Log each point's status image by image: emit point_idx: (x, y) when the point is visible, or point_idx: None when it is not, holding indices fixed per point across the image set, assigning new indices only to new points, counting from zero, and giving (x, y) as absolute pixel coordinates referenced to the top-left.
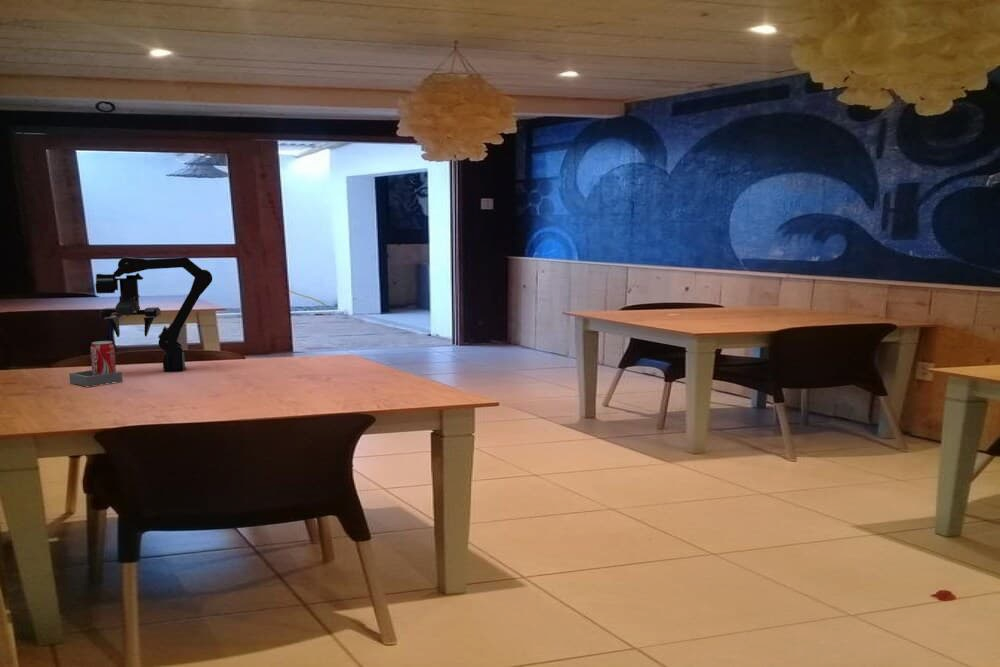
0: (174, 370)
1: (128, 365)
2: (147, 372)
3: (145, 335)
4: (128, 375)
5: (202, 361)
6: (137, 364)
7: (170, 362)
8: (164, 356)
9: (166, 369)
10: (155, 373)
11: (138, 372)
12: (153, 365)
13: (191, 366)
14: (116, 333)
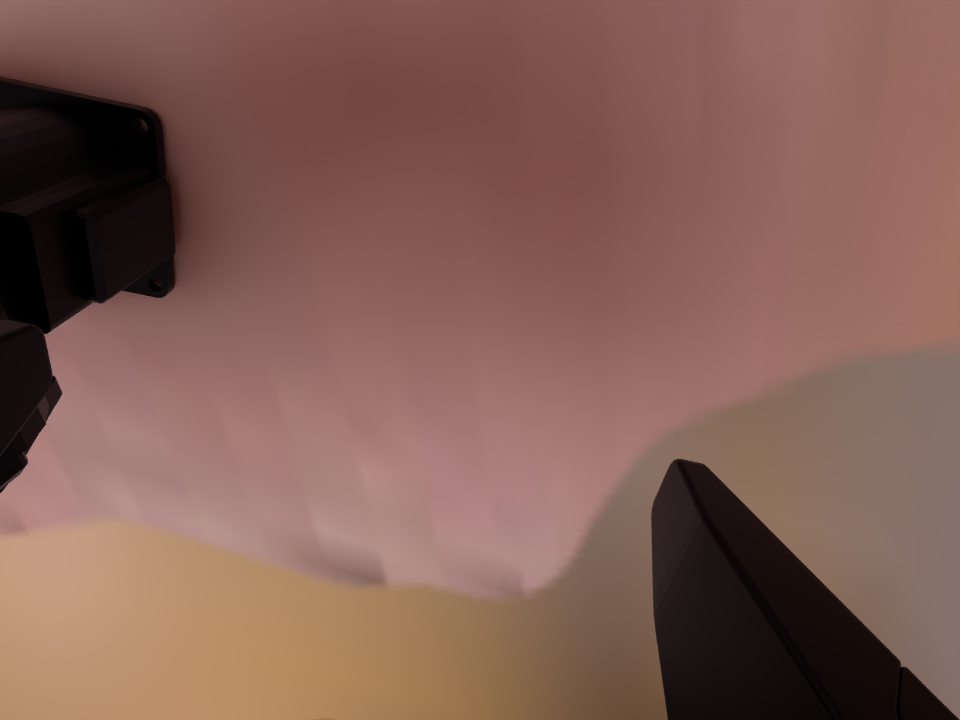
0: (33, 86)
1: (558, 571)
2: (332, 154)
3: (3, 328)
4: (514, 10)
5: (25, 531)
6: (493, 585)
7: (10, 129)
8: (46, 207)
9: (134, 157)
10: (225, 45)
11: (428, 191)
12: (359, 505)
13: None
14: (742, 520)
